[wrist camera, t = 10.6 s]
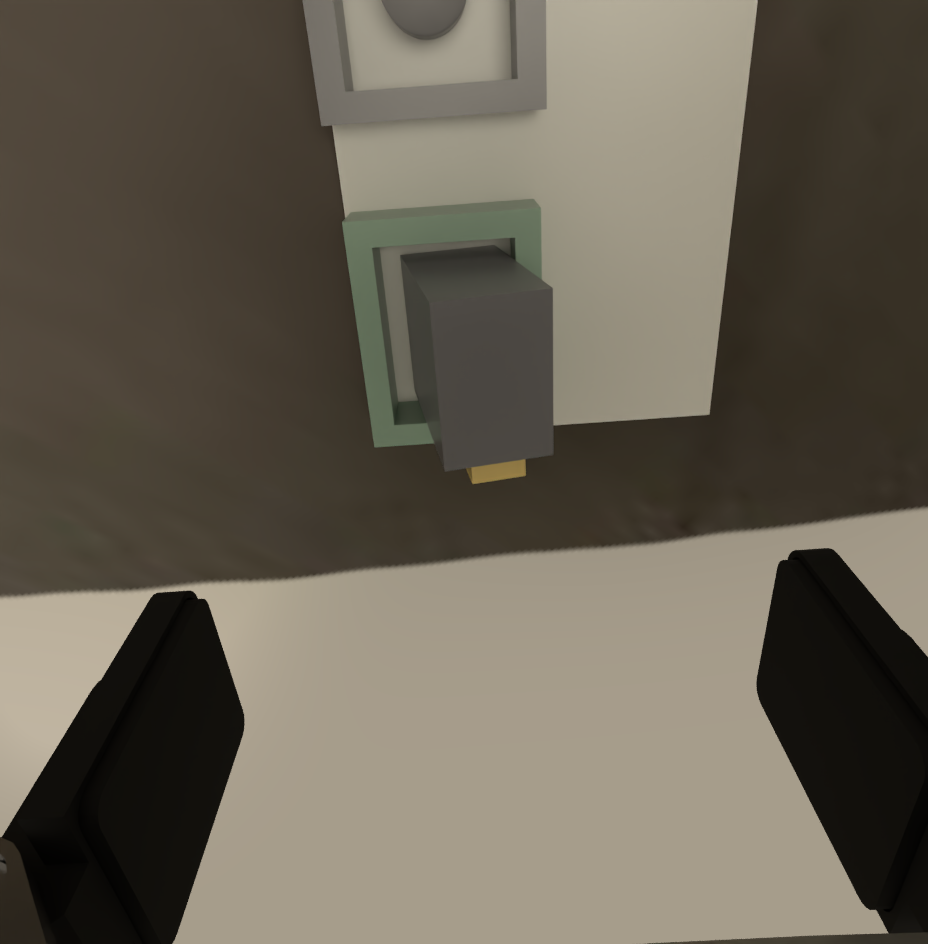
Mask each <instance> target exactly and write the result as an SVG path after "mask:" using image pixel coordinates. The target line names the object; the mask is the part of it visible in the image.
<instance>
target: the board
mask: <svg viewBox="0 0 928 944" xmlns="http://www.w3.org/2000/svg"><path fill="white" fill-rule="evenodd" d="M757 3H758V0H303V6H304V13H305V20H306V26H307V33H308V40H309V47H310V53H311V60H312V67H313V73H314V80H315V87H316V94H317V100H318V107H319V114H320V120H321V126H330V125H332V128H333V135H334V142H335V149H336V156H337V163H338V170H339V177H340V184H341V191H342V198H343V205H344V212H345V218H346V217H347V216H348V215H349V214H350V212H360V211H374V210H388V209H401V208H415V207H429V206H442V205H456V204H470V203H484V202H497V201H511V200H525V199H534V200H535V201H536V202H537V204H538V205H539V206H540V207H541V252H542V280H543V281H544V282H545V283H547V284H548V285H549V286H551V287H552V288H553V425H566V424H581V423H595V422H610V421H625V420H639V419H654V418H669V417H683V416H698V415H709V413H710V404H711V396H712V387H713V379H714V370H715V361H716V353H717V344H718V336H719V327H720V319H721V310H722V302H723V293H724V285H725V276H726V267H727V259H728V250H729V242H730V233H731V225H732V216H733V208H734V199H735V191H736V182H737V173H738V165H739V156H740V148H741V139H742V131H743V122H744V114H745V105H746V97H747V88H748V80H749V71H750V62H751V54H752V45H753V37H754V28H755V20H756V11H757ZM488 245H495V246H497V247H498V248H499V249H501V250H502V251H503V252H505V253H506V254H507V255H509V256H510V257H511V247H510V238H501V239H487V240H473V241H459V242H446V243H432V244H418V245H404V246H390V247H379V248H380V256H381V264H382V273H383V281H384V289H385V297H386V306H387V314H388V322H389V330H390V338H391V347H392V355H393V363H394V371H395V380H396V388H397V396H398V402H407V401H418V398H417V395H416V393H415V389H414V380H413V370H412V361H411V352H410V343H409V334H408V324H407V315H406V306H405V297H404V288H403V278H402V269H401V260H400V255H404V254H414V253H423V252H432V251H442V250H451V249H460V248H470V247H479V246H488Z"/></svg>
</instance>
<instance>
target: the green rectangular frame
mask: <svg viewBox="0 0 928 944" xmlns="http://www.w3.org/2000/svg"><path fill="white" fill-rule="evenodd" d="M342 226H343V233H344V240H345V247H346V254H347V261H348V268H349V275H350V282H351V289H352V296H353V302H354V309H355V316H356V323H357V330H358V337H359V344H360V351H361V358H362V365H363V372H364V378H365V385H366V392H367V399H368V406H369V413H370V420H371V427H372V434H373V441H374V447H388V446H402V445H417V444H432V443H434V441H433V439H432V436H431V433H430V431H429V428H428V425H427V422H426V420H425V417H424V414H423V412H422V409H421V406H420V404H419V401H407V402H398V396H397V388H396V380H395V371H394V363H393V355H392V347H391V338H390V330H389V322H388V314H387V306H386V297H385V289H384V281H383V273H382V264H381V256H380V248H379V247H390V246H404V245H418V244H432V243H446V242H459V241H473V240H487V239H501V238H510V247H511V258H513V259H514V260H515V261H517V262H518V263H520V264H521V265H522V266H524V267H525V268H526V269H528V270H529V271H530V272H532V273H533V274H534V275H536V276H537V277H539V278H540V279H541V280H542V252H541V207H540V206H539V205H538V204H537V202H536V201H535V200H534V199H525V200H511V201H497V202H484V203H470V204H456V205H442V206H429V207H415V208H401V209H388V210H374V211H360V212H350V214H349V215H348V216H347V217H346V218H345V219H344V220H343V222H342Z"/></svg>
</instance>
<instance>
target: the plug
mask: <svg viewBox="0 0 928 944" xmlns="http://www.w3.org/2000/svg"><path fill="white" fill-rule="evenodd" d="M400 260H401V269H402V278H403V288H404V297H405V306H406V315H407V324H408V334H409V343H410V352H411V361H412V370H413V380H414V389H415V393H416V395H417V398H418V401H419V404H420V406H421V409H422V412H423V414H424V417H425V420H426V422H427V425H428V428H429V431H430V433H431V436H432V439H433V441H434V444H435V447H436V449H437V452H438V455H439V458H440V460H441V463H442V466H443V468H444V471H452V470H458V469H465V468H466V470H467V472H468V475H469V477H470V479H471V482H472V484H477V483H483V482H490V481H496V480H502V479H509V478H515V477H521V476H526V466H525V459H530V458H536V457H543V456H549V455H553V288H552V287H551V286H549V285H548V284H547V283H545V282H544V281H543V280H541V279H540V278H539V277H537V276H536V275H534V274H533V273H532V272H530V271H529V270H528V269H526V268H525V267H524V266H522V265H521V264H520V263H518V262H517V261H515V260H514V259H513V258H511V257H510V256H509V255H507V254H506V253H505V252H503V251H502V250H501V249H499V248H498V247H497V246H495V245H488V246H479V247H470V248H460V249H451V250H442V251H432V252H423V253H414V254H404V255H400Z"/></svg>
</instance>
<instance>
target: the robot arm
mask: <svg viewBox="0 0 928 944" xmlns="http://www.w3.org/2000/svg"><path fill="white" fill-rule="evenodd" d="M757 693H758V697H759V700H760V703H761V705H762V707H763V709H764V711H765V713H766V715H767V717H768V719H769V721H770V723H771V725H772V727H773V729H774V731H775V733H776V735H777V737H778V739H779V741H780V742H781V744H782V746H783V748H784V750H785V752H786V754H787V756H788V758H789V760H790V762H791V764H792V766H793V768H794V770H795V772H796V774H797V776H798V778H799V780H800V782H801V784H802V786H803V788H804V790H805V792H806V794H807V796H808V798H809V800H810V802H811V804H812V806H813V808H814V810H815V812H816V814H817V816H818V818H819V820H820V822H821V823H822V826H823V827H824V830H825V832H826V833H827V836H828V837H829V839H830V841H831V843H832V845H833V847H834V849H835V851H836V853H837V855H838V857H839V859H840V861H841V863H842V865H843V867H844V869H845V871H846V873H847V875H848V877H849V879H850V881H851V883H852V885H853V887H854V889H855V891H856V893H857V895H858V897H859V898H860V900H861V902H862V903H863V904H864V906H865V907H866V908H868V909H869V910H877V912H878V914H879V916H880V918H881V919H882V921H883V923H884V925H885V927H886V929H887V931H888V933H889V934H855V935H822V936H795V937H774V938H755V939H754V938H753V939H732V940H711V941H691V942H670V943H649V944H928V657H927V656H926V655H925V653H924V652H923V651H922V650H921V649H920V647H919V646H918V645H917V644H916V643H915V642H914V640H913V639H912V638H911V637H910V636H909V635H907V633H905V632H904V631H903V630H901V629H900V628H899V626H898V625H897V624H896V623H895V622H894V621H893V619H892V618H891V617H890V616H889V614H888V613H887V612H886V611H885V610H884V608H883V607H882V606H881V605H880V604H879V603H878V601H877V600H876V599H875V598H874V597H873V595H872V594H871V593H870V592H869V591H868V590H867V588H866V587H865V586H864V585H863V583H862V582H861V581H860V580H859V579H858V578H857V576H856V575H855V574H854V573H853V572H852V570H851V569H850V568H849V567H848V566H847V564H846V563H845V562H844V561H843V560H842V558H841V557H840V556H839V555H838V554H837V553H836V552H835V551H834V550H832V549H829V548H824V549H809V550H795V551H792V552H791V553H790V555H789V557H788V560H782V561H780V563H779V564H778V568H777V573H776V578H775V584H774V589H773V594H772V600H771V605H770V611H769V616H768V621H767V627H766V632H765V638H764V643H763V648H762V654H761V659H760V665H759V670H758V675H757ZM243 731H244V714H243V709H242V706H241V703H240V700H239V697H238V694H237V691H236V688H235V685H234V682H233V679H232V676H231V673H230V669H229V666H228V663H227V660H226V657H225V654H224V651H223V648H222V645H221V642H220V639H219V636H218V632H217V629H216V626H215V623H214V620H213V617H212V614H211V611H210V608H209V605H208V603H207V601H206V600H205V599H198V598H197V596H196V594H195V593H194V592H192V591H178V592H163V593H156V594H154V595H153V596H152V597H151V599H150V600H149V602H148V603H147V605H146V607H145V609H144V610H143V612H142V613H141V615H140V617H139V618H138V620H137V622H136V623H135V625H134V627H133V628H132V630H131V632H130V633H129V635H128V637H127V638H126V640H125V641H124V643H123V645H122V646H121V648H120V650H119V651H118V653H117V655H116V656H115V658H114V660H113V661H112V663H111V665H110V666H109V668H108V670H107V671H106V673H105V675H104V677H103V678H102V680H101V681H99V682H98V683H97V684H96V686H95V687H94V688H93V689H92V691H91V692H90V694H89V695H88V697H87V699H86V700H85V702H84V704H83V705H82V707H81V709H80V710H79V712H78V714H77V715H76V717H75V718H74V720H73V722H72V723H71V725H70V727H69V728H68V730H67V731H66V733H65V735H64V737H63V738H62V740H61V741H60V743H59V745H58V746H57V748H56V750H55V751H54V753H53V754H52V756H51V758H50V759H49V761H48V763H47V764H46V766H45V767H44V769H43V771H42V772H41V774H40V776H39V777H38V779H37V781H36V782H35V784H34V786H33V787H32V789H31V790H30V792H29V794H28V796H27V797H26V799H25V800H24V802H23V803H22V805H21V807H20V809H19V810H18V812H17V813H16V815H15V817H14V818H13V820H12V822H11V823H10V825H9V826H8V828H7V830H6V831H5V833H4V835H3V836H2V837H0V944H172V943H173V941H174V940H175V937H176V935H177V932H178V929H179V926H180V923H181V920H182V917H183V914H184V911H185V908H186V905H187V902H188V899H189V896H190V893H191V890H192V887H193V884H194V881H195V878H196V875H197V871H198V869H199V866H200V862H201V859H202V857H203V854H204V850H205V848H206V845H207V842H208V839H209V835H210V833H211V829H212V826H213V823H214V820H215V817H216V814H217V811H218V808H219V805H220V802H221V799H222V796H223V793H224V790H225V787H226V784H227V781H228V778H229V775H230V772H231V769H232V766H233V763H234V760H235V757H236V754H237V751H238V748H239V745H240V742H241V738H242V736H243Z"/></svg>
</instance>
